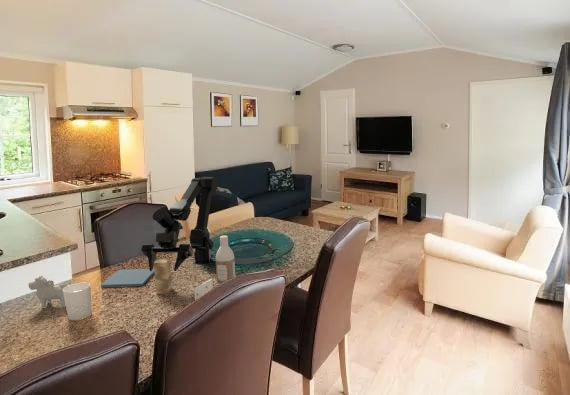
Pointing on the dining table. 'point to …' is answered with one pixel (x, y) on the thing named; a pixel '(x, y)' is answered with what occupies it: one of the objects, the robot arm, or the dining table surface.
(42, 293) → the grey animal figurine
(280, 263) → the dining table surface
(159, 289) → the oak block
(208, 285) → the white angled block
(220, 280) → the bath foam
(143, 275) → the rubber mat
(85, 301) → the white cup
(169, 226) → the robot arm
